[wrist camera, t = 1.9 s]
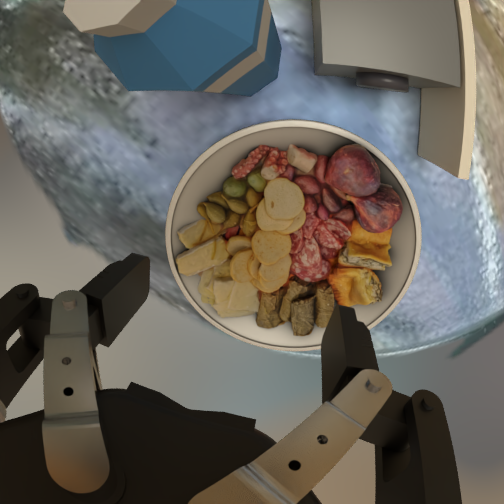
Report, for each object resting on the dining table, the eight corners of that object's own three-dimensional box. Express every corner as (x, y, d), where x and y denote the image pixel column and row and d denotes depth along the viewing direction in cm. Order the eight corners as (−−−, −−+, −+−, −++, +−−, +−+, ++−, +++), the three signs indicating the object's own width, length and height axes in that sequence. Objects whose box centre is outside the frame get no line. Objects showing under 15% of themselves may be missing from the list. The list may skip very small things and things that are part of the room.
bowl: (325, 352, 46) (326, 390, 39) (154, 272, 43) (131, 304, 36) (448, 203, 31) (477, 229, 25) (238, 73, 28) (222, 65, 21)
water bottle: (270, 13, 24) (209, -134, 2) (292, 86, 28) (286, 39, 6) (189, 37, 26) (17, -23, 5) (211, 107, 30) (43, 143, 9)
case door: (407, -44, 16) (437, -76, 7) (420, -40, 16) (453, -70, 7) (416, 154, 29) (457, 177, 20) (430, 156, 29) (472, 180, 20)
